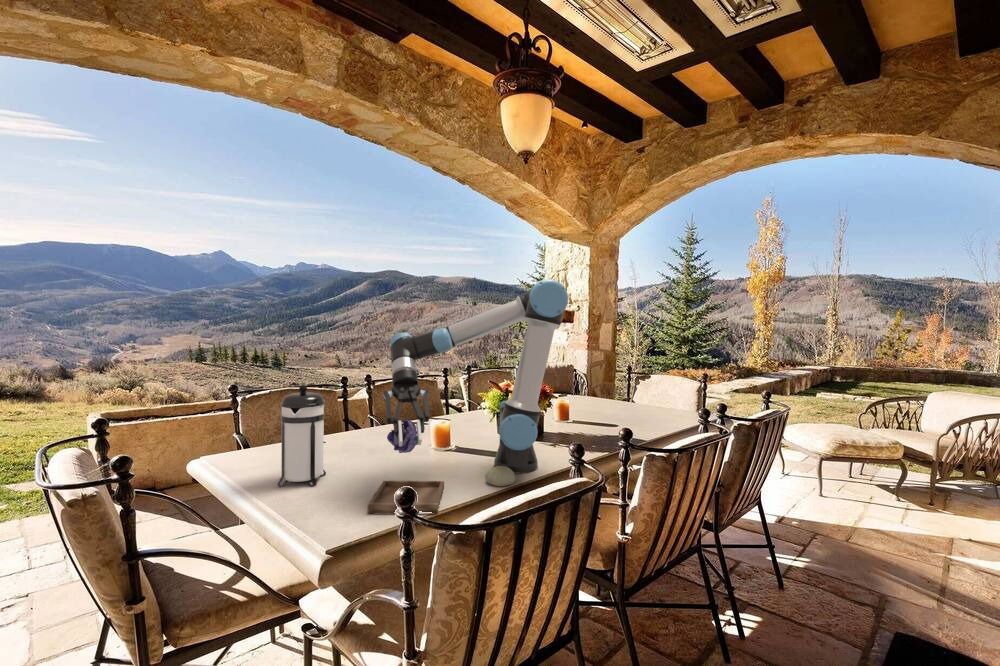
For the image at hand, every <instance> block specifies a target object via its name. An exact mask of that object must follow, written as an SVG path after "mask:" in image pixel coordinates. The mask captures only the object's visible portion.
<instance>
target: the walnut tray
mask: <svg viewBox="0 0 1000 666" xmlns="http://www.w3.org/2000/svg"><path fill="white" fill-rule="evenodd" d="M403 486H410V487H412V488H413V489H414V490H415V491H416V492H417V495H418V502H417V503H416V504H415V508H416V509H417V510H418V513H419V511H422V512H432V513H435V514H434V515H438V512H439V510H438V509H440V506H441V502H440V501H442V498H443V495H442V494H444V491H443V490H444V489H445V480H383V481H382V482H381V484H380V485H379V487H378V488H377V490H376V492H374V494H373V496H372V497H371V499H370V500H369V502H368V503H367V514H368V513H391V514H390V515H395V514H394V512H395V510H396V509H397V506H396V504H395V502H394V494H395V492H396V491H397V490H398V489H399V488H401V487H403ZM439 505H440V506H439ZM392 513H393V514H392Z"/></svg>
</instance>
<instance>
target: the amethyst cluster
mask: <svg viewBox="0 0 1000 666" xmlns="http://www.w3.org/2000/svg"><path fill="white" fill-rule="evenodd" d="M401 425H402V439H403V442H402V446H400V447H399V438H398V434H397V435H395V434H394V429H391V430H390V431H389V432H388V434H387V436H386V438H387V439H386V440H387V441H388V442H389V443H390V444H391V445H392V446H393V450H394V451H398V453H399V454H403V453H404V454H405V453H406V454H407V453H411V452H412V451H413V450H414V449H415V447H416V446H419V445H418V438H417V428H416V423H414V422H413V421H411V420H409V419H406V418H405V419H404V420H403V422H401Z"/></svg>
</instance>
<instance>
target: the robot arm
mask: <svg viewBox="0 0 1000 666" xmlns="http://www.w3.org/2000/svg"><path fill="white" fill-rule="evenodd" d="M568 303H569V294H568V291H567V289H566V288H565V286H564V285H563V284H562V283H561V282H559V281H557V280H555V279H550V278H549V279H542V280H539V281H538V282H536V283H535V284H534V285H533V286H532V287H531V289H529V290H527V291H526V292H524V293H522V294H519V295H517V296H516V297H515V300H513V301H509V302H507V303H505V304H502V305H500V306H497V307H494V308H492V309H489V310H486V311H484V312H482V313H478V314H476V315H473V316H471V317H468V318H466V319H464V320H461V321H458V322H456V323H453V324H450V325H448V326H445V327H443V328H436V329H434V330H431V331H428V332H424V333H421V334H418V335H412V334H410V333H409V332H397V333H395V334H394V335H393V336H392V337H391V338H390V348H389V353H390V361H391V375H392V377H391V379H392V381H391V382H392V388H391V390H389V391H388V390H383V393H382V394H383V395H382V398H383V400H384V402H385V414H386V415H385V416H386V417H385V418H386V424H388V425H390V424H391V425H393V430H394V434H395V435H397V434H398V438H399V447H400V446H402V442H403V439H402V425H401V423H402V420H400V415H401V411H402V406H403V403H410V405H411V407H412V409H413V411H414V414H415V417H416V423H415V426H416V431H417V438H418V445H417V446H422V442H423V441H422V440H423V438H422V434H424V433H425V428H426V427H425V423H428V422H429V421H430V417H431V415H430V405H429V394H430V390H429V389H425V390H423V389H421V387H420V386H419V385H420V384H419V379H418V369H417V360H421V359H424V358H425V359H426V358H427V357H432V356H435V355H438V354H443V353H446V352H448V351H451V350H452V349H453V348H455V347H457V346H461V345H463V344H466V343H468V342H471V341H473V340H476V339H479V338H481V337H484V336H487V335H490V334H491V333H494V332H497V331H499V330H502V329H505V328H508V327H509V326H513V325H515V324H518V323H520V322H523V321H524V322H526V323H527V327H526V333H525V336H524V340H523V344H522V349H521V353H520V358H519V363H518V366H517V371H516V375H515V378H514V379H515V380H514V385H513V388H512V392H511V396H510V397H509V398H508V399H507V400H503V401H501V402H500V405H499V428H498V434H499V444H498V449H497V450H496V454H495V457H494V465H493V467H496V466H505V467H508V468H510V469H511V470H512V471H513V472H514V474H526V473H531V472H534V471H536V470H537V469H538V461H539V460H538V458H537V454H536V451H535V448H534V443H535V442H536V439H537V438H538V425H539V420H540V415H541V412H542V409H541V408H540V406H539V404H538V403H539V398H540V394H541V390H542V386H543V380H544V376H545V373H546V368H547V363H548V360H549V356H550V350H551V347H552V342H553V338H554V334H555V330H556V329H558V328H560V327H561V324H562V320H563V317H564V312H565V310H566V308H567V306H568ZM392 396H393V397H394V398H395V399H396V400H397V403H396V408H395V412H394V417H393V416H392V403H391V399H392ZM418 396H421V398H422V405H423V406H422V407H423V412H422V409H421V406H420V404H419V402H418Z"/></svg>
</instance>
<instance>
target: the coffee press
mask: <svg viewBox="0 0 1000 666" xmlns="http://www.w3.org/2000/svg"><path fill="white" fill-rule="evenodd" d="M298 390H299V391H300V392H294V393H289V394H287V395H285V396H284V397H283V398H282V401H280V408H281V414H280V422H281V449H280V450H281V458H280V459H281V461H280V462H281V464H280V465H281V470H280V471H281V475H280V479H279V480H278V481H277V486H278V487H280V488H282V487H285V485H286V484H287V483H288V482H290V483H291V482H293V483H298V482H308V483H309V485H310V487H311V488H312V487H316V486H317V483H318V482H317V479H318V478H319V477H320V476H321V477H325V476H326V474H327V471H326V470H325V469H324V443H325V442H324V438H325V437H324V431H325V430H324V429H325V428H324V425H325V422H324V421H325V420H324V419H325V412H324V411H325V405H326V400H325V399H324V397H323V395H322V394H320V393H318V392H312V391H309V392H308V387H307V385H305V384H301V385H300V386H299V388H298ZM283 480H284V481H283ZM281 486H282V487H281Z"/></svg>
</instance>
